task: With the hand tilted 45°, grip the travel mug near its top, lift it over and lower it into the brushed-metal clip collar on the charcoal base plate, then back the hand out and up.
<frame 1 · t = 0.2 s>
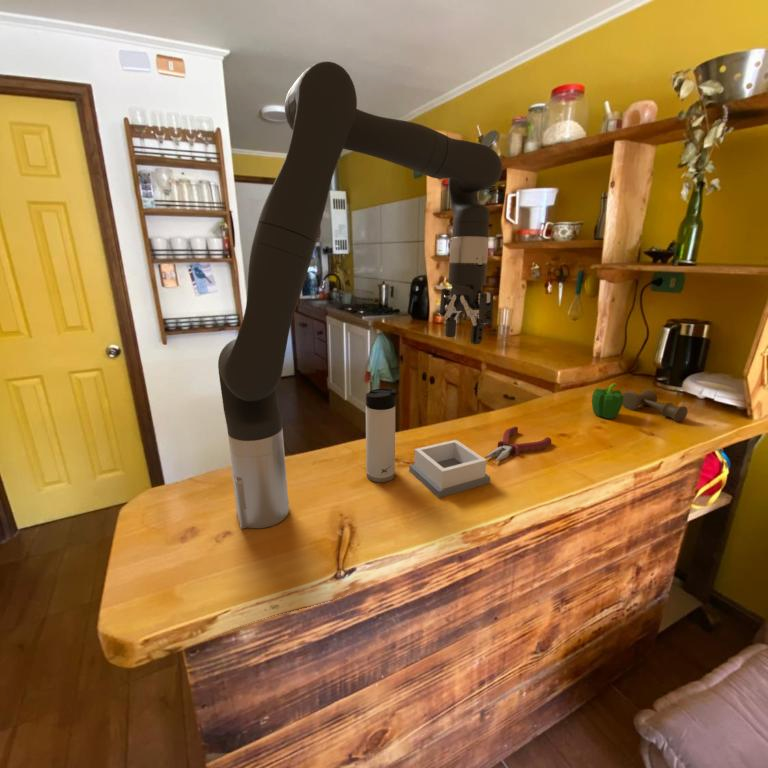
hand: (462, 340, 89), 29 cm above the countertop, tool pointing down, fingers open, 8 cm apart
pliers: (509, 448, 106), on the countertop
travel mug: (381, 476, 92), on the countertop
bell pepper: (605, 416, 125), on the countertop
kendama: (648, 412, 129), on the countertop
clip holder: (448, 476, 91), on the countertop
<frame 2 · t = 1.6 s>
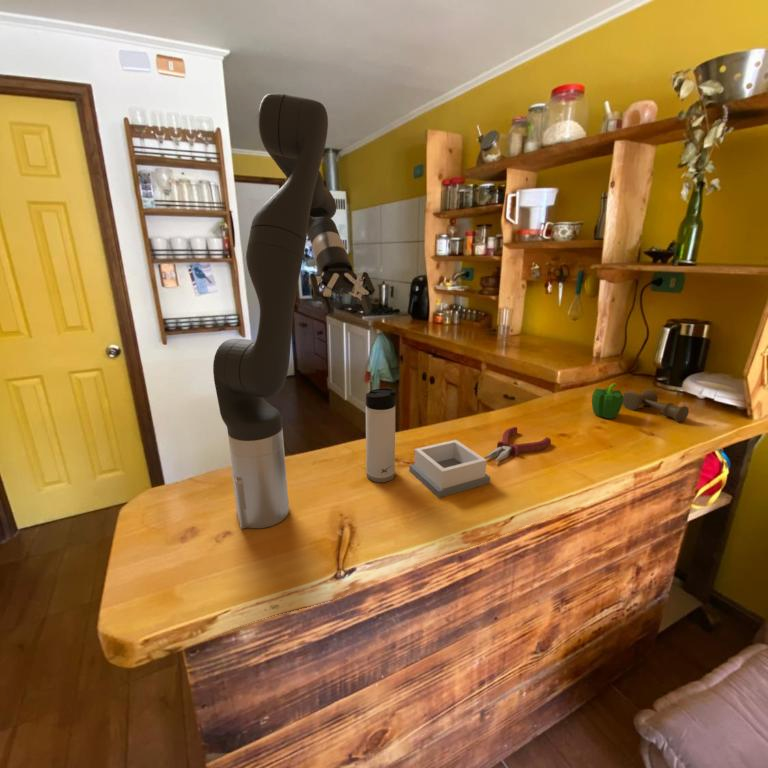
hand: (350, 312, 90), 34 cm above the countertop, tool tilted 45°, fingers open, 8 cm apart
nothing on the countertop moved.
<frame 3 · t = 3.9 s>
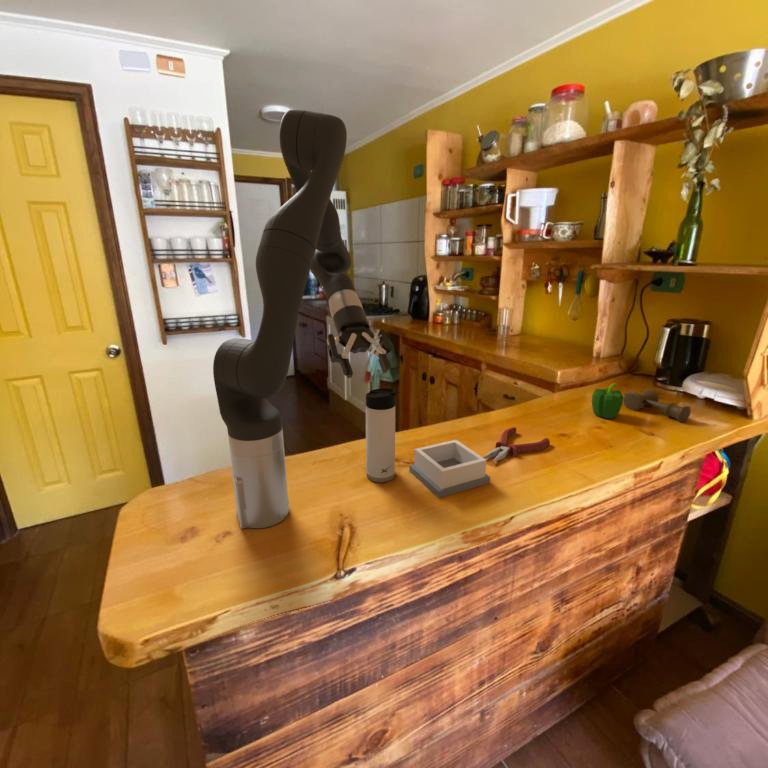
hand: (368, 373, 90), 22 cm above the countertop, tool tilted 45°, fingers open, 8 cm apart
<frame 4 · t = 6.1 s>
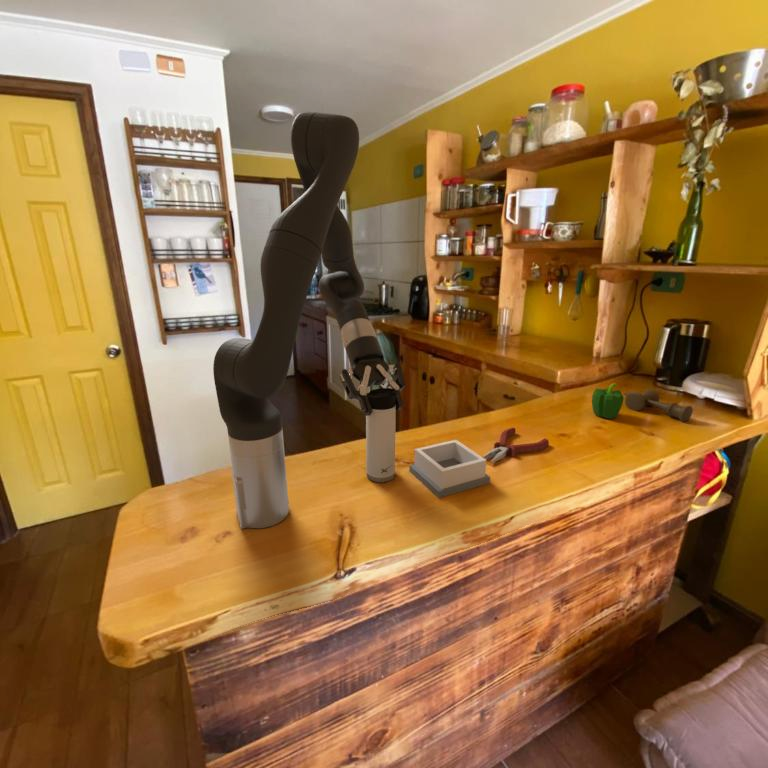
hand: (384, 411, 85), 16 cm above the countertop, tool tilted 45°, fingers closed on travel mug, 6 cm apart
travel mug: (381, 476, 92), on the countertop, touching gripper
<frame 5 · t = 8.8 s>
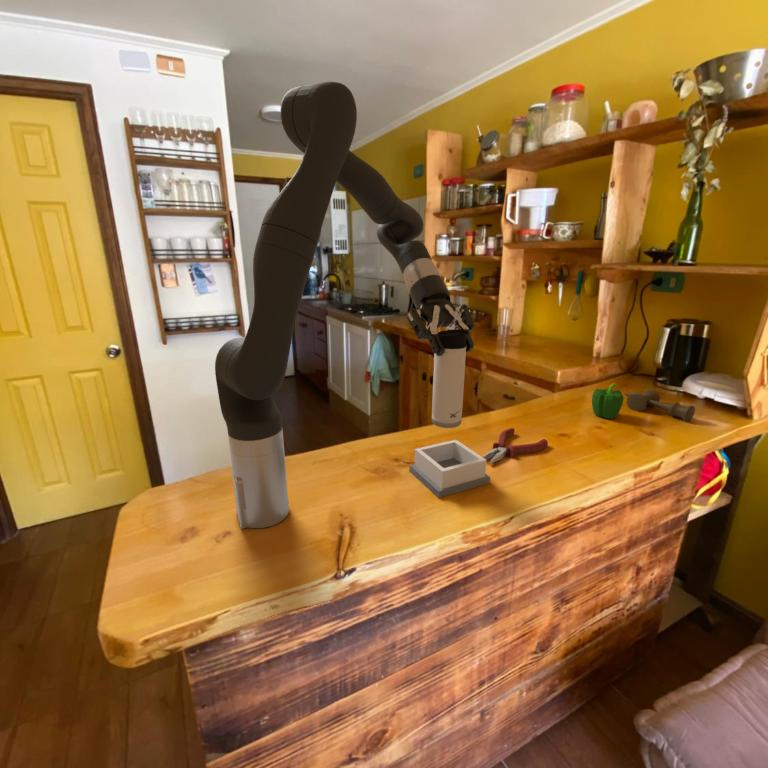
hand: (455, 351, 82), 28 cm above the countertop, tool tilted 45°, fingers closed on travel mug, 6 cm apart
travel mug: (447, 423, 88), point 12 cm above the countertop, touching gripper
when the fingers open (19 cm above the countertop, at t = 11.7 s): travel mug drops 1 cm, resting on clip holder.
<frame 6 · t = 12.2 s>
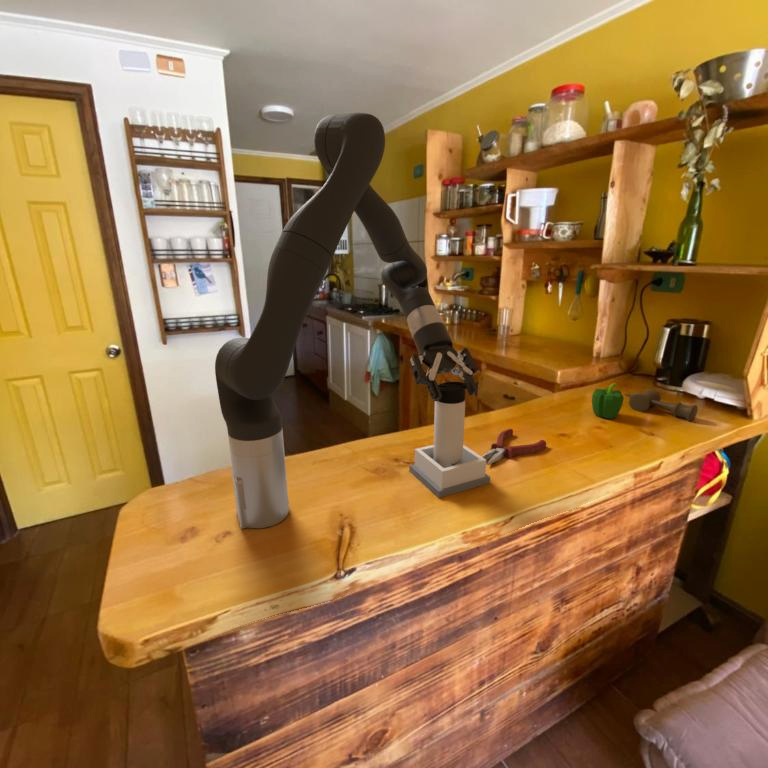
hand: (456, 396, 84), 19 cm above the countertop, tool tilted 45°, fingers open, 8 cm apart
travel mug: (448, 470, 91), point 1 cm above the countertop, touching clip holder
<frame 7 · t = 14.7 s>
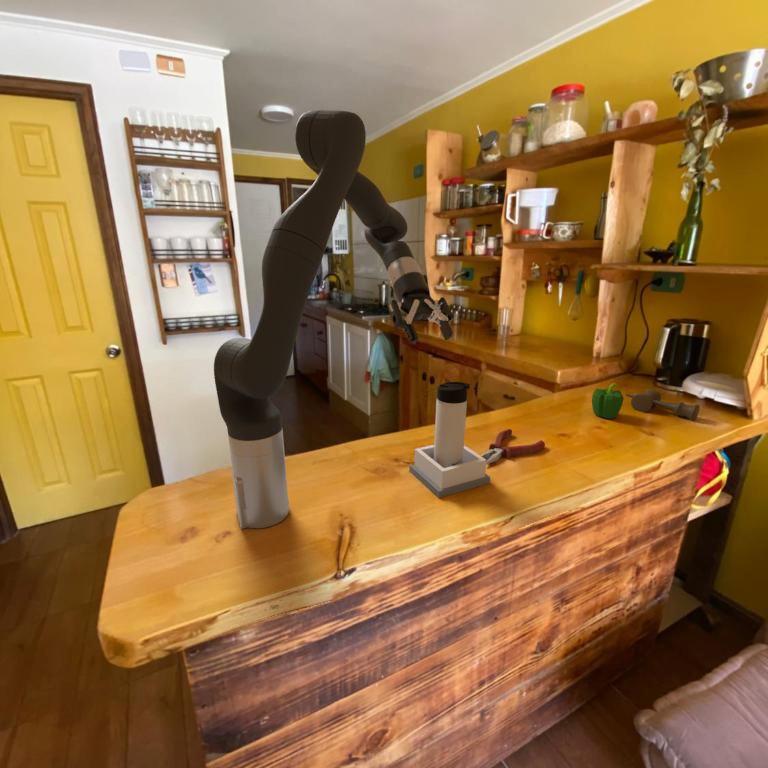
hand: (432, 339, 90), 29 cm above the countertop, tool tilted 45°, fingers open, 8 cm apart
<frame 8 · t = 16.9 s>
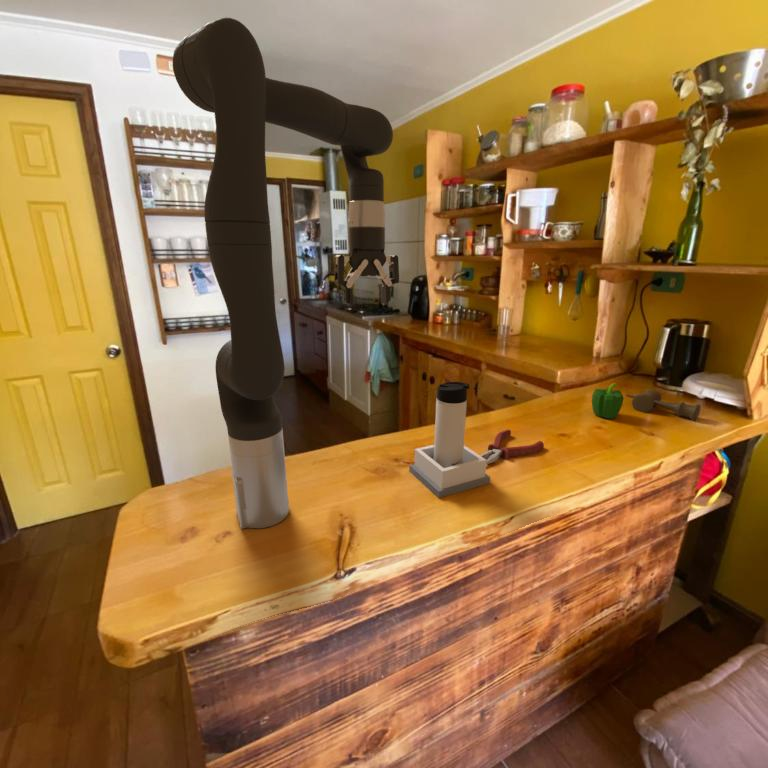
hand: (367, 304, 91), 36 cm above the countertop, tool pointing down, fingers open, 8 cm apart
at the end: travel mug 0.3 cm off-centre on the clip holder, point 1.3 cm above the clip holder's base; travel mug tilted 0°; the gripper is holding nothing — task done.
